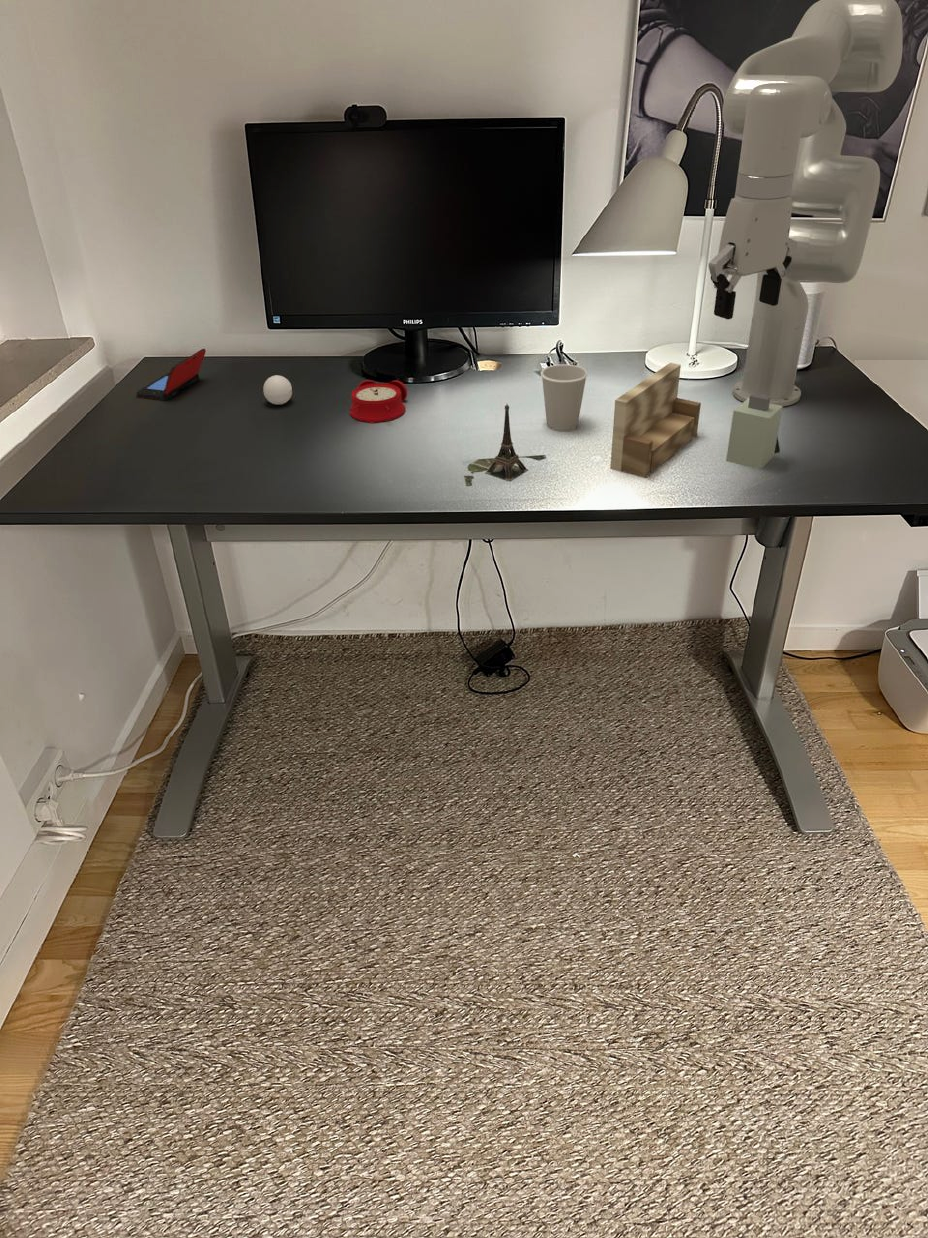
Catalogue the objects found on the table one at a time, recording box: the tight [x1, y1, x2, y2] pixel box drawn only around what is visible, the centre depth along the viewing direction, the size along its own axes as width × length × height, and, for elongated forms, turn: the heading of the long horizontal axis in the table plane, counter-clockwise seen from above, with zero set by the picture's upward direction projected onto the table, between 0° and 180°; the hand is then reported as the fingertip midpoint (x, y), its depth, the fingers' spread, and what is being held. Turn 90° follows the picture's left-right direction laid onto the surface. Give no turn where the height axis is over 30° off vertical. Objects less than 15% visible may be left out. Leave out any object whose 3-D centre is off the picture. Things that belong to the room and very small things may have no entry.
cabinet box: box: [725, 394, 784, 470], centre depth 150 cm, size 6×6×11 cm
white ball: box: [262, 374, 293, 406], centre depth 179 cm, size 8×6×6 cm
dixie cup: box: [540, 363, 589, 432], centre depth 164 cm, size 8×8×10 cm
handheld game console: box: [135, 348, 207, 402], centre depth 186 cm, size 12×11×7 cm
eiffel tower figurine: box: [463, 404, 547, 487], centre depth 149 cm, size 15×10×13 cm
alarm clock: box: [349, 379, 408, 425], centre depth 175 cm, size 11×6×15 cm
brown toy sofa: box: [609, 362, 702, 478], centre depth 153 cm, size 20×6×12 cm, turn 144°
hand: (745, 310), depth 136 cm, fingers open, 9 cm apart
